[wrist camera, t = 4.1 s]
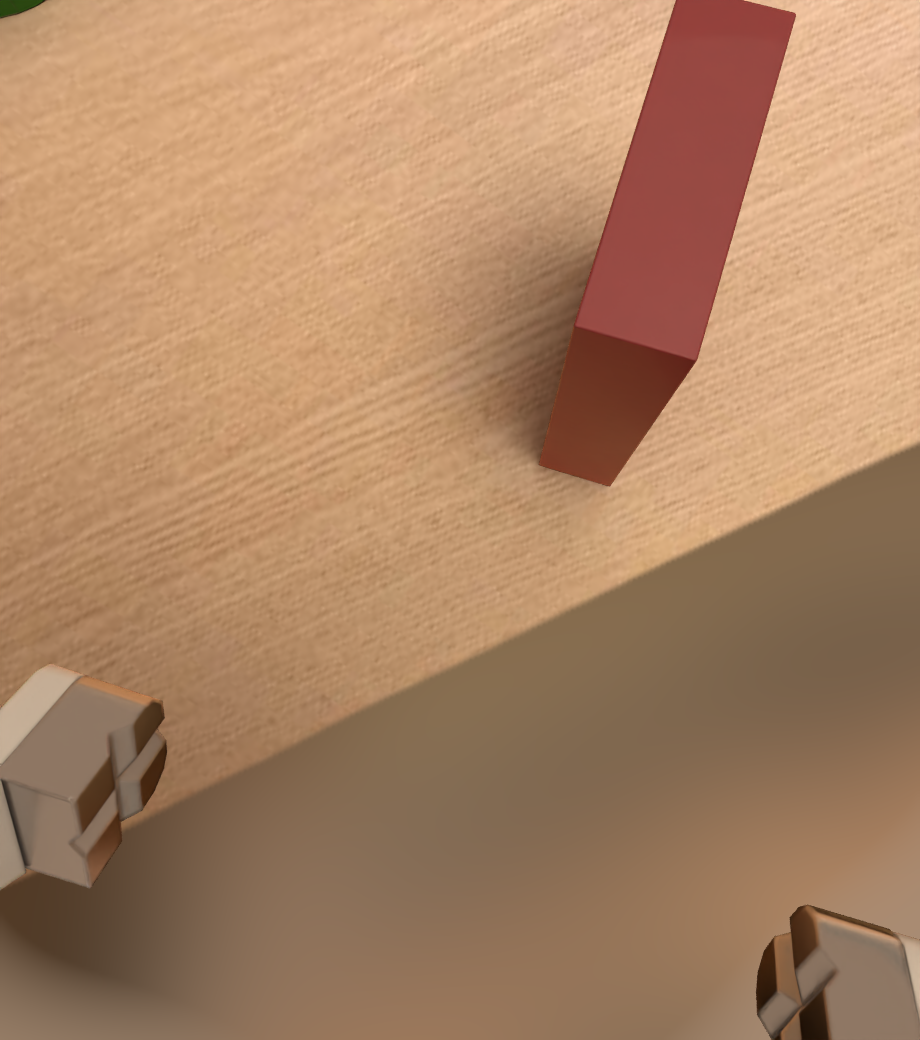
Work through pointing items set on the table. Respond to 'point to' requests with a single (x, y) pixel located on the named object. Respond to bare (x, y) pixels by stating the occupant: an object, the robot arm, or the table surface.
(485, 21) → the table surface
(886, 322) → the table surface
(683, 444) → the table surface
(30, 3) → the candle
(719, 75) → the book
